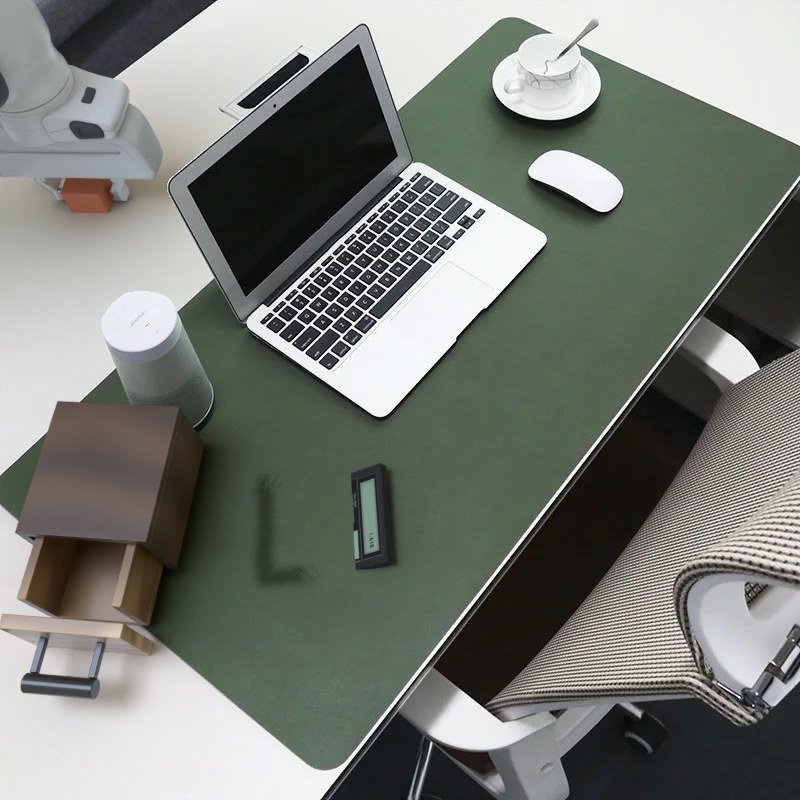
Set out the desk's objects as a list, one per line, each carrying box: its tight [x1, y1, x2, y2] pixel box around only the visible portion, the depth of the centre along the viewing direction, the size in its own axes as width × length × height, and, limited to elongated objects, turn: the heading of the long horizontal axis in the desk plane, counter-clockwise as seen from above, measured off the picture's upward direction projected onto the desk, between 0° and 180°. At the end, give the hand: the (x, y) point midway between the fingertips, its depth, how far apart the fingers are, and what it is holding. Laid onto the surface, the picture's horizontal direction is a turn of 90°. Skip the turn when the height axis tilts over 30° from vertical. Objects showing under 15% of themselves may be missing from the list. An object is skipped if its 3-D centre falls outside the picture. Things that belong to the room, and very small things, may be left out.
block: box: [60, 178, 114, 214], centre depth 97 cm, size 4×4×4 cm
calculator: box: [350, 462, 394, 571], centre depth 76 cm, size 9×12×3 cm
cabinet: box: [14, 400, 205, 570], centre depth 76 cm, size 13×12×9 cm
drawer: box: [0, 537, 165, 700], centre depth 72 cm, size 16×10×7 cm, turn 174°
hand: (94, 196), depth 98 cm, fingers open, 5 cm apart
